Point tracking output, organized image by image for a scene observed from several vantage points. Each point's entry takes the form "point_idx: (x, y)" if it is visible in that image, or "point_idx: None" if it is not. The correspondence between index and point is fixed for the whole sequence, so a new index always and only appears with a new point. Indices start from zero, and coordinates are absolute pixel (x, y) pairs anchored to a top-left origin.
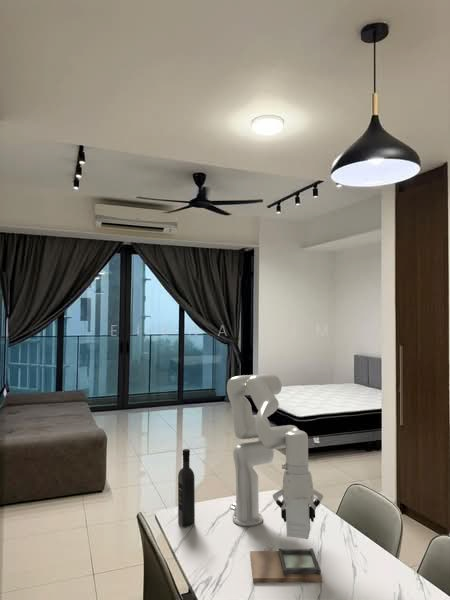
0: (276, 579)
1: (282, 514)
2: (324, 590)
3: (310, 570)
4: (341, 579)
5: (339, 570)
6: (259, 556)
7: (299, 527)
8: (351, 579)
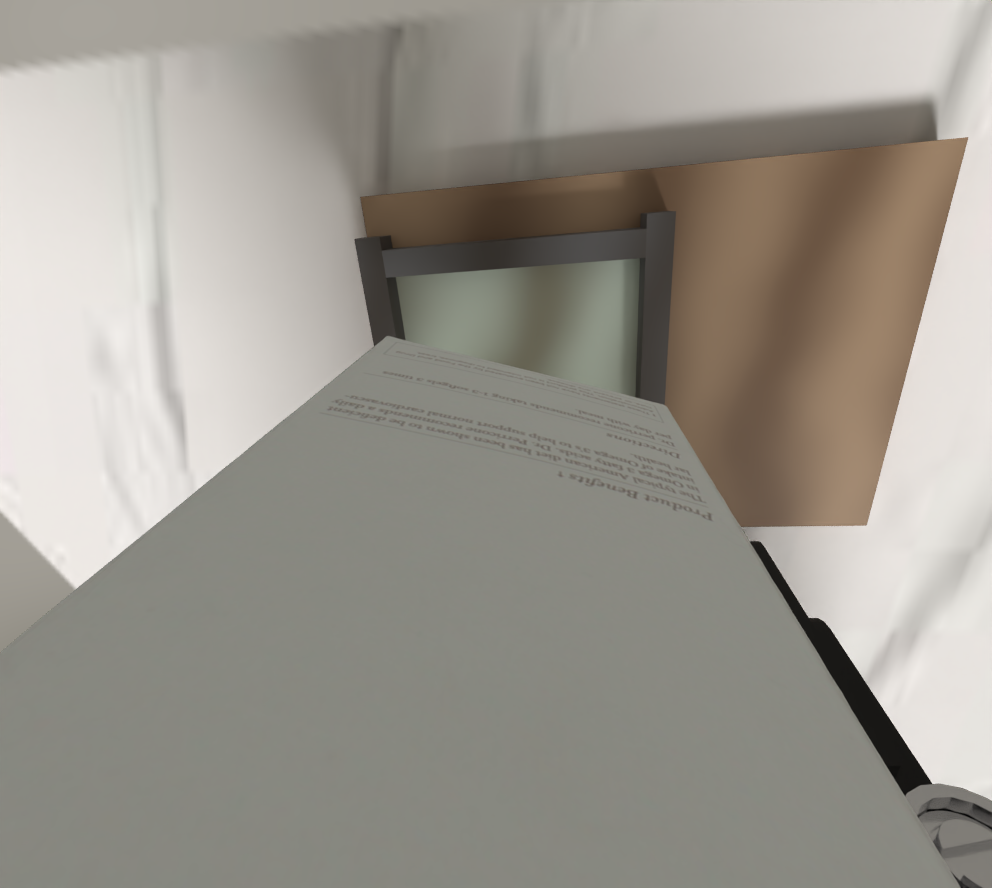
0: (737, 160)
1: (847, 677)
2: (357, 88)
3: (439, 246)
4: (239, 249)
5: (255, 355)
6: (811, 459)
7: (477, 411)
8: (175, 254)
